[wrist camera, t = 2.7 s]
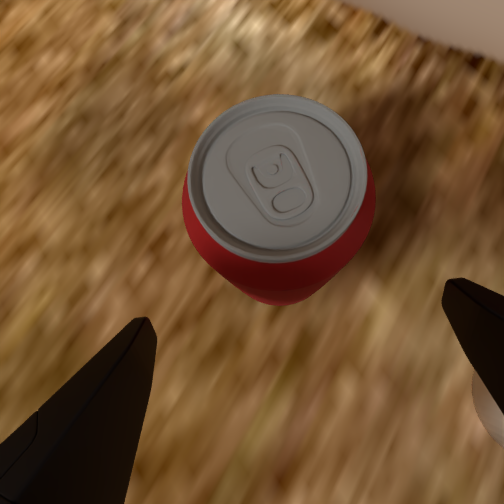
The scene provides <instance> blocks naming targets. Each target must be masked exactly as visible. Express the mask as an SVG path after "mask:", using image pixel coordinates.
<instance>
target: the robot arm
mask: <svg viewBox="0 0 504 504" xmlns="http://www.w3.org/2000/svg"><path fill="white" fill-rule="evenodd" d="M442 307H443V310H444V312H445V314H446V316H447V318H448V320H449V322H450V324H451V326H452V328H453V330H454V332H455V334H456V336H457V339H458V341H459V343H460V345H461V347H462V349H463V351H464V352H465V354H466V356H467V358H468V359H469V361H470V363H471V364H472V366H473V367H474V369H475V371H476V372H477V374H478V375H479V377H480V379H481V380H482V382H483V383H484V385H485V386H486V388H487V390H488V391H489V393H490V394H491V396H492V398H493V399H494V401H495V402H496V404H497V405H498V407H499V409H500V410H501V412H502V413H503V415H504V296H503V295H501V294H498V293H496V292H494V291H492V290H490V289H487V288H485V287H483V286H481V285H478V284H476V283H474V282H472V281H470V280H467V279H465V278H453V279H449V280H447V281H446V283H445V287H444V292H443V296H442ZM156 347H157V336H156V333H155V331H154V328H153V326H152V324H151V322H150V320H149V318H148V317H139V318H134V319H133V320H132V321H130V322H129V323H128V324H127V325H126V326H125V327H124V328H123V329H122V330H121V331H120V332H119V333H118V334H117V335H116V336H115V337H114V338H113V339H112V340H110V341H109V342H108V343H107V344H106V345H105V346H104V347H103V348H102V349H101V350H100V351H99V352H98V353H97V354H96V355H95V356H94V357H93V358H91V359H90V360H89V361H88V362H87V363H86V364H85V365H84V366H83V367H82V368H81V369H80V370H79V371H78V372H77V373H76V374H75V375H74V376H73V377H71V378H70V379H69V380H68V381H67V382H66V383H65V384H64V385H63V386H62V387H61V388H60V389H59V390H58V391H57V392H56V393H55V394H54V395H52V396H51V397H50V398H49V399H48V400H47V401H46V402H45V403H44V404H43V405H42V406H41V407H40V408H39V409H38V411H36V412H34V413H33V414H32V415H31V416H30V417H29V418H28V419H27V420H26V421H25V422H24V423H23V424H22V425H21V426H20V427H19V428H17V429H16V430H15V431H14V432H13V433H12V434H11V435H10V436H9V437H8V438H7V439H5V440H4V441H3V442H2V443H1V444H0V504H124V502H125V497H126V493H127V489H128V485H129V481H130V476H131V472H132V468H133V464H134V460H135V455H136V451H137V447H138V443H139V439H140V434H141V430H142V426H143V422H144V417H145V413H146V409H147V405H148V401H149V396H150V392H151V386H152V380H153V372H154V363H155V355H156Z"/></svg>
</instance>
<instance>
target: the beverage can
mask: <svg viewBox="0 0 504 504" xmlns="http://www.w3.org/2000/svg"><path fill="white" fill-rule="evenodd" d="M375 202H376V196H375V185H374V180H373V176H372V172H371V169H370V166H369V164H368V162H367V159H366V157H365V154H364V151H363V148H362V145H361V143H360V141H359V139H358V138H357V136H356V134H355V132H354V131H353V130H352V128H351V127H350V126H349V125H348V123H347V122H346V121H345V120H344V119H343V118H342V117H340V116H339V115H338V114H337V113H336V112H334V111H333V110H331V109H330V108H328V107H326V106H325V105H323V104H321V103H319V102H316V101H314V100H311V99H308V98H304V97H300V96H295V95H284V94H274V95H265V96H259V97H256V98H252V99H249V100H246V101H243V102H241V103H239V104H237V105H235V106H233V107H231V108H229V109H228V110H226V111H225V112H223V113H222V114H221V115H219V116H218V117H217V118H216V119H215V120H214V121H213V122H212V123H211V124H210V125H209V126H208V127H207V128H206V129H205V131H204V132H203V134H202V135H201V136H200V138H199V140H198V141H197V143H196V145H195V148H194V150H193V152H192V155H191V159H190V162H189V167H188V171H187V174H186V178H185V181H184V186H183V195H182V210H183V217H184V222H185V226H186V229H187V232H188V234H189V237H190V239H191V241H192V243H193V245H194V246H195V248H196V250H197V251H198V252H199V254H200V255H201V256H202V257H203V259H204V260H205V261H206V262H207V263H208V264H209V265H210V266H211V267H212V268H213V269H215V270H216V271H217V272H218V273H219V274H221V275H222V276H223V277H224V278H225V279H227V280H228V281H229V282H230V283H232V284H233V285H234V286H236V287H237V288H238V289H240V290H241V291H242V292H243V293H245V294H247V295H248V296H250V297H251V298H253V299H255V300H257V301H259V302H262V303H265V304H269V305H278V306H282V305H290V304H294V303H297V302H300V301H302V300H304V299H306V298H308V297H309V296H311V295H312V294H314V293H315V292H316V291H317V290H319V289H320V288H321V287H322V286H324V285H325V284H326V283H327V282H328V281H329V280H330V279H331V278H332V277H334V276H335V275H336V274H337V273H338V272H339V271H340V270H341V269H342V268H343V267H344V266H345V265H346V264H347V263H348V262H349V261H350V260H351V259H352V258H353V257H354V255H355V254H356V253H357V252H358V250H359V249H360V247H361V246H362V244H363V243H364V241H365V239H366V237H367V235H368V233H369V230H370V228H371V225H372V221H373V217H374V212H375Z"/></svg>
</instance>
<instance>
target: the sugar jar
mask: <svg viewBox="0 0 504 504" xmlns="http://www.w3.org/2000/svg"><path fill="white" fill-rule="evenodd" d="M472 396H473V402H474V405H475V409H476V412H477V414H478V416H479V419H480V420H481V422H482V424H483V426H484V427H485V429H486V430H487V432H488V433H489V434H490V436H491V437H492V438H493V439H494V440H495V441H496V442H497V443H498V444H499V445H500V446H501V447H502V448H504V415H503V413H502V412H501V410H500V409H499V407H498V405H497V404H496V402H495V401H494V399H493V398H492V396H491V394H490V393H489V391H488V390H487V388H486V386H485V385H484V383H483V382H482V380H481V379H480V377H479V375H478V374H477V372H476V371H475V369H474V373H473V378H472Z"/></svg>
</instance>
